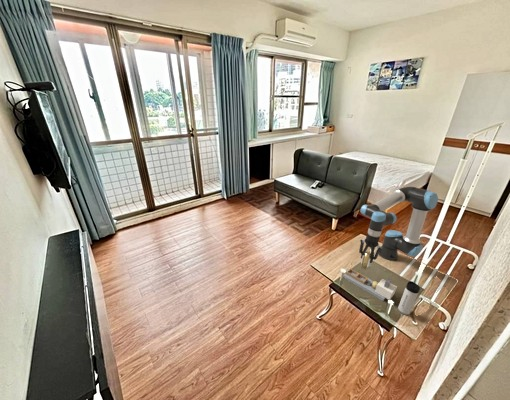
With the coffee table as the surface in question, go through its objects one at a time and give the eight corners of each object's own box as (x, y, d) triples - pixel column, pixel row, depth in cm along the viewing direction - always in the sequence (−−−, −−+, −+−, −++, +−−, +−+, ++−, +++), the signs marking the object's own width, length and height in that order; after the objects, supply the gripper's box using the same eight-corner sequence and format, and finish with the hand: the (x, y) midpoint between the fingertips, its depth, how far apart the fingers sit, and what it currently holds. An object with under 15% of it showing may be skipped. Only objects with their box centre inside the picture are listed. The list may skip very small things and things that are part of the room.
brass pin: (362, 265, 153) (366, 251, 149) (367, 268, 151) (372, 253, 147) (360, 267, 151) (364, 252, 147) (365, 270, 149) (369, 255, 144)
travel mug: (406, 307, 135) (417, 282, 128) (411, 316, 129) (422, 289, 122) (395, 305, 136) (405, 279, 130) (400, 314, 130) (410, 287, 123)
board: (350, 270, 166) (351, 264, 164) (389, 292, 147) (392, 285, 145) (342, 277, 159) (344, 270, 157) (383, 301, 139) (385, 293, 137)
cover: (380, 285, 150) (383, 274, 146) (394, 293, 143) (398, 281, 140) (374, 291, 144) (378, 279, 140) (389, 300, 137) (393, 287, 134)
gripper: (358, 231, 145) (351, 260, 153) (385, 241, 134) (375, 273, 142) (363, 228, 150) (355, 256, 158) (389, 238, 138) (379, 268, 147)
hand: (365, 264), depth 150 cm, fingers closed on brass pin, 3 cm apart
